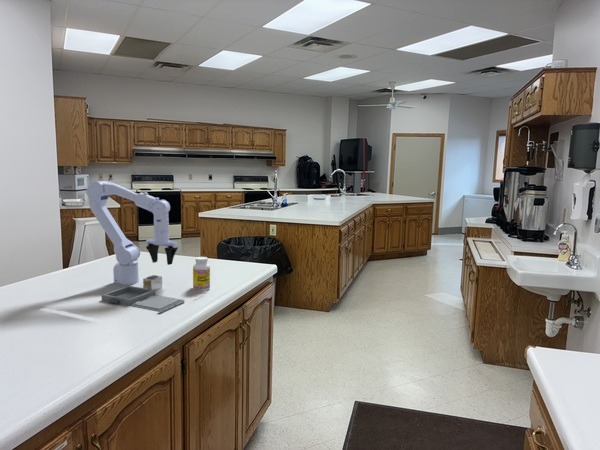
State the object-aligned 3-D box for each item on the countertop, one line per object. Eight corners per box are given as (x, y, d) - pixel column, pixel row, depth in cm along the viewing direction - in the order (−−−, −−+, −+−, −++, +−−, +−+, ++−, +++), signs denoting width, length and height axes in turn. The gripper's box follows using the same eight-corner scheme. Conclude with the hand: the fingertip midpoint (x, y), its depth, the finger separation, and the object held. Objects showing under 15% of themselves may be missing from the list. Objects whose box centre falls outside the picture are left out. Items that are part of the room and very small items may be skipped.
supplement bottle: (195, 292, 172) (195, 260, 170) (191, 288, 178) (190, 257, 176) (212, 290, 175) (211, 259, 173) (207, 286, 181) (207, 255, 179)
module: (143, 291, 170) (142, 277, 169) (154, 287, 175) (154, 274, 175) (151, 292, 168) (151, 279, 167) (162, 288, 174) (161, 275, 173)
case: (99, 303, 156) (98, 295, 156) (128, 293, 169) (128, 285, 169) (157, 315, 146) (157, 306, 146) (184, 303, 159) (184, 295, 158)
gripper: (140, 230, 176) (141, 263, 178) (169, 233, 170) (170, 267, 172) (152, 227, 182) (153, 259, 184) (181, 230, 177) (181, 263, 179)
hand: (162, 263), depth 179 cm, fingers open, 7 cm apart
